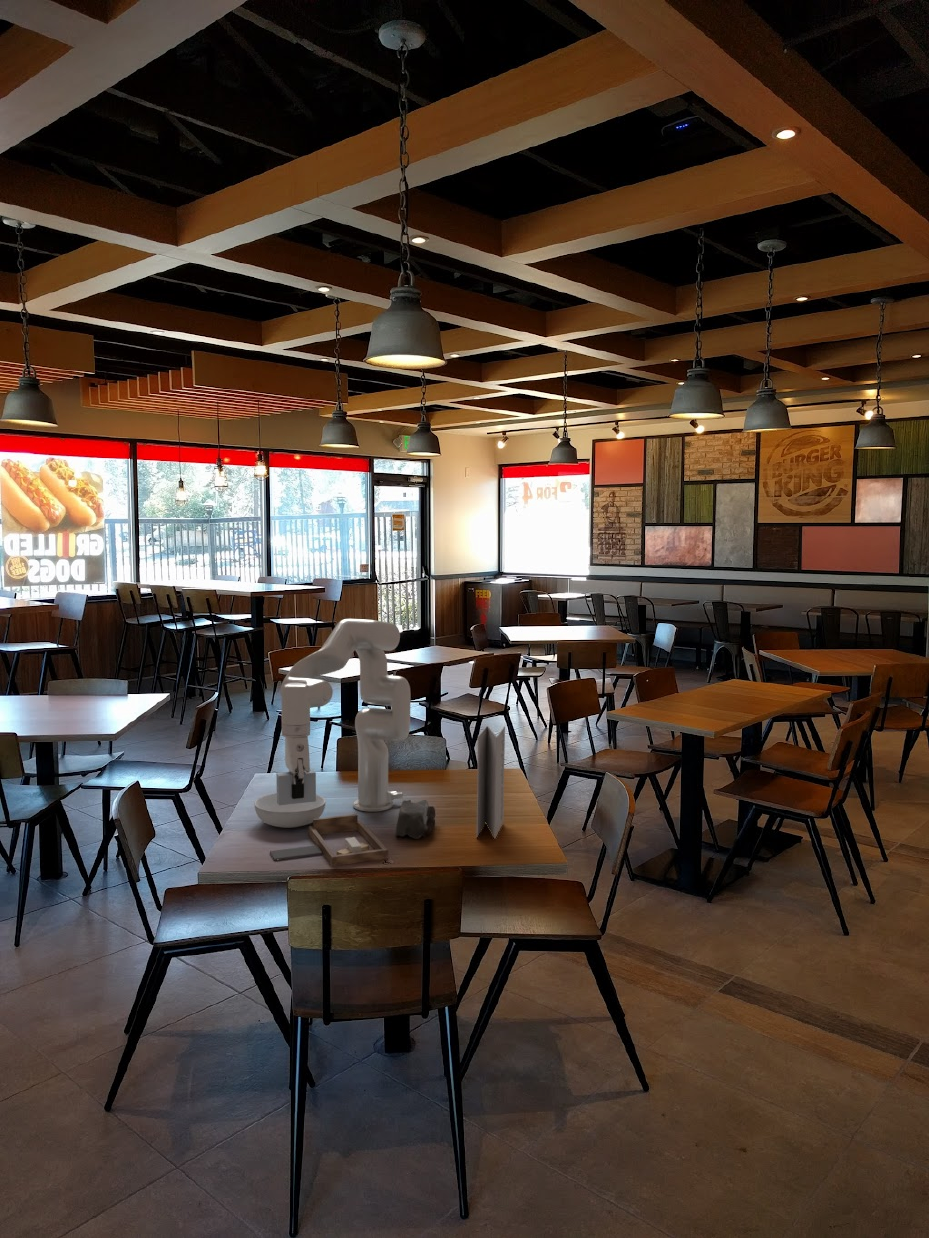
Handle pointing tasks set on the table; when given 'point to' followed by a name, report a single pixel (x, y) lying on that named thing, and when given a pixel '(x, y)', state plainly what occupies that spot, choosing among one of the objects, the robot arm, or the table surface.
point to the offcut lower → (346, 851)
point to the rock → (415, 819)
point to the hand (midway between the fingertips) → (296, 795)
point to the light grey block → (286, 788)
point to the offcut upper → (353, 845)
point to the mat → (296, 852)
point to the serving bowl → (288, 811)
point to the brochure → (490, 780)
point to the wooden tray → (343, 825)
